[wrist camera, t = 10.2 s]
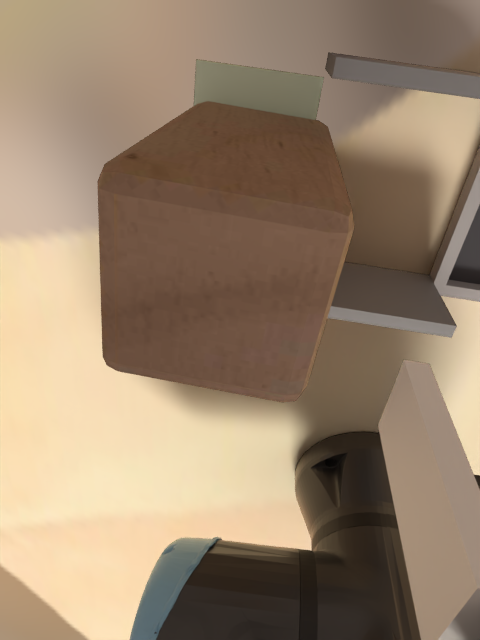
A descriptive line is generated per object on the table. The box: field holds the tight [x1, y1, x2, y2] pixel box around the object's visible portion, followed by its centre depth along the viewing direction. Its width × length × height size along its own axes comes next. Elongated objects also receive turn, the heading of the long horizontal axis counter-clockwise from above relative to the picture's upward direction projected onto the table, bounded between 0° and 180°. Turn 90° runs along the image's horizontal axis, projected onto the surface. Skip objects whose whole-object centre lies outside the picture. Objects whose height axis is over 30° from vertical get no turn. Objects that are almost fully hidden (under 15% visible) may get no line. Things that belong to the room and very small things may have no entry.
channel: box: [325, 53, 480, 337], centre depth 31 cm, size 16×12×8 cm
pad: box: [194, 59, 324, 120], centre depth 35 cm, size 13×9×1 cm
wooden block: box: [98, 101, 354, 402], centre depth 27 cm, size 10×10×20 cm
